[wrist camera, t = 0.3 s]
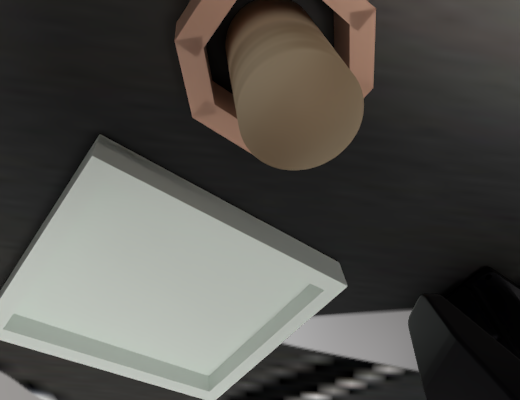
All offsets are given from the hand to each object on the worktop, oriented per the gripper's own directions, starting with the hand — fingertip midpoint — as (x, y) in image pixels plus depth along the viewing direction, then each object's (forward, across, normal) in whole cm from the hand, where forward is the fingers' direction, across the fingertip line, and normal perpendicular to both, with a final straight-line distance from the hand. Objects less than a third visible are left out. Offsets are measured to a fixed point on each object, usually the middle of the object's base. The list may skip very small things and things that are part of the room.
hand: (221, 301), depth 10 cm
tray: (+13, +1, +13) cm, 19 cm away
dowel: (+13, -2, -2) cm, 14 cm away
